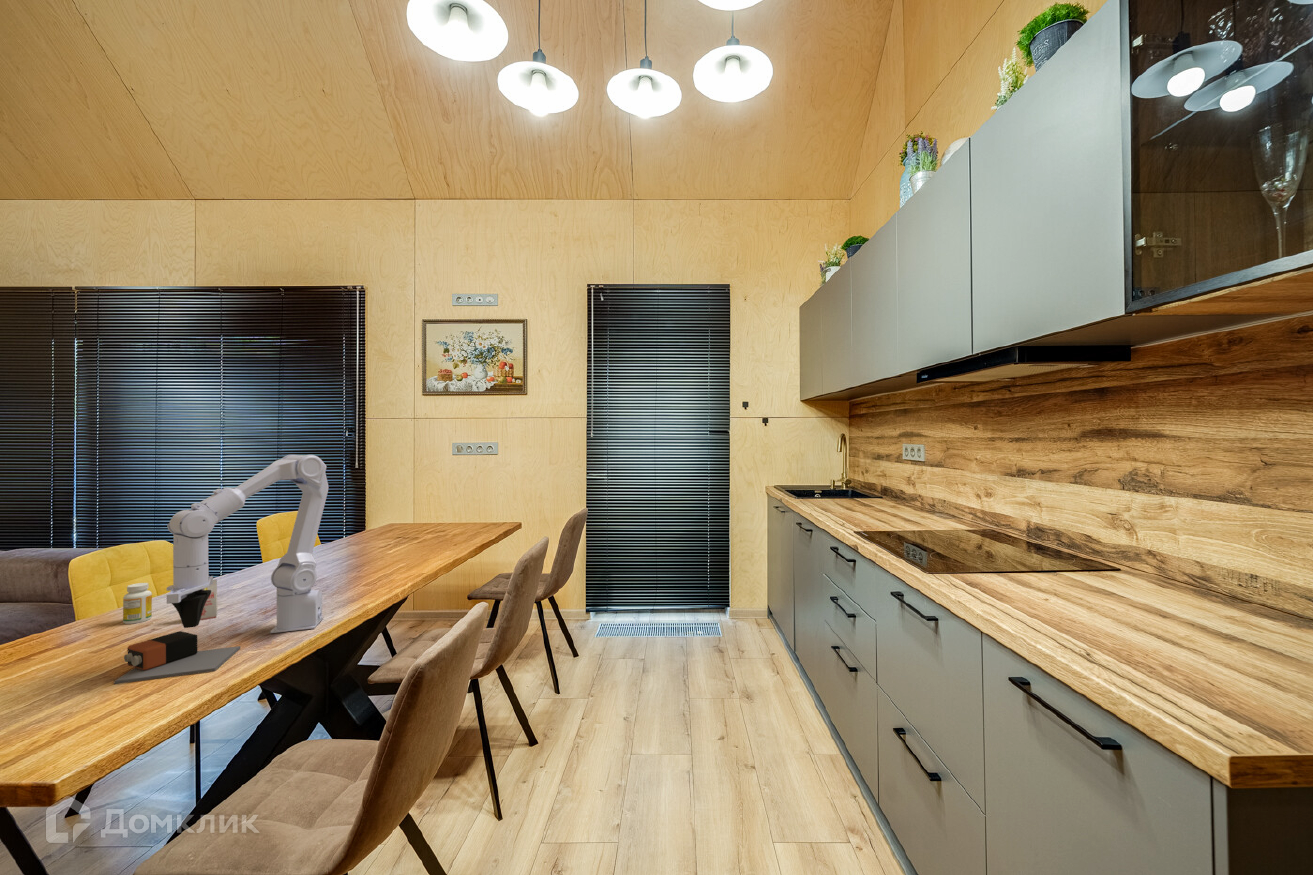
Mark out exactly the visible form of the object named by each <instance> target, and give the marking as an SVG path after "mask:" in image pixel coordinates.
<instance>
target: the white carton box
mask: <svg viewBox="0 0 1313 875" xmlns="http://www.w3.org/2000/svg"><path fill="white" fill-rule="evenodd" d="M217 581H218V580H217V579H213V584H212V585H210V586H209V587H207V588H204V589H202V590H211V594H210V596H209V597H208V599H207V601H206V603H205V605H204V608H203V611H202V615H201V619H200V622H201V621H206V620H210V619H217V617H218V583H217Z"/></svg>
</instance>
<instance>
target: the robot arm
mask: <svg viewBox="0 0 1313 875" xmlns="http://www.w3.org/2000/svg"><path fill="white" fill-rule="evenodd" d="M326 471H327V465H326V464H325V463H324V461H323V460H322V458H320V457H319V456H317V455H314V454H307V455H304V454H303V455H301V454H288V455H285V456H283V457H282V458H280V459H277V460H275V461H274V462H272V463H271V464H269V465H268V466H267V467H265V468H264V469H262V470H261V471H258V473H255V475H253V476H251V477H249V479H247V480H245V481H244V482H242V483H241V484H239V485H238V486H236V487H234V488H233V487H232V488H231V487H224V488H217V489H215V490H213V491H212V493H213V494H212V495H210V496H208V497H207V498H205V499H203V500H202V501H200V502H194V503H192V504H191V505H190V507H191V508H190V509H185V510H180V511H178V512H176V513H175V514H174V515H173V516H172V517H171V519H170V520H169V523H167V525H166V526H167V529H168V532H170V533H171V534H172V535H173V546H172V547H173V549H172V556H173V557H172V559H173V560H172V565H173V566H172V567H173V568H172V572H173V575H172V578H173V581H172V582H173V583H172V585H168V586H167V587H166V591H167V592H168V591H169V593H168V594H166V604H167V605H168V604H171V605H172V606H173V607H174V608H175V610H176V611H177V613H178V616H179V618H180V621H181V624H182V626H183V628H184V629H189V628H190V629H191V628H196V627H198V626H199V625H200V622H201V621H200V619H201V615H202V611H203V608H204V605H205V603H206V601H207V599H208V597H209V596H210V594H211V590H202V589H204V588H207V587H209V586H210V585H212V584H213V580H214V575H211V576H210V575H209V573H210V572H209V571H210V570H209V568H210V567H209V534H210V533H211V532H212V531H213V529H214V527H215V525H216V524H218V523H220V522H221V521H223V520H224V519H226V518H228V517H229V516H232V515H233V514H234V513H235V512H237V511H239V510H240V509H242V508H244V506H245V504H246V503H245V502H246V501H247V500H246V499H248V498H250V497H252V496H253V495H255V494H257V493H259V492H261V491H262V490H264V489H266V488H268V487H269V486H271V485H273V484H275V483H276V482H279V481H286V480H289V481H290V482H292V483H294V484H295V485H296V486H297V487H298V489H299V490H301V492H302V494H301V499H300V502H299V506H298V510H297V514H296V518H295V521H294V524H293V529H292V532H291V536H290V539H289V540H290V541H289V544H288V548H287V552H286V553H285V554H284V555H282V557H280V559H279V562H278V564H277V566H276V567H275V569H273V571H272V573H271V576H270V581H271V585H272V586H274V587H275V588H276V625H275V626H274V627H273V628H272V629H271V630H270V631H269V633H270V634H275V633H276V634H277V633H285V632H294V631H301V630H310V629H311V630H313V629H315V628H316V627H317V626H318V625H319V624H320V622H321V621H322V620H323V619H324V617H323V591H322V590H321V589H312V588H314V586H315V584H316V583H317V579H318V577H317V571H316V568H317V561H316V560H315V557H314V556H313V552H314V548H315V544H316V541H317V537H318V536H317V535H318V533H319V528H320V524H321V520H322V517H323V514H324V513H323V512H324V509H325V504H326V500H327V498H328V497H327V496H328V492H329V482H328V478H327V475H326V474H327V473H326Z"/></svg>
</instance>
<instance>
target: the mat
mask: <svg viewBox="0 0 1313 875" xmlns="http://www.w3.org/2000/svg"><path fill="white" fill-rule="evenodd" d="M240 650H241V645H237V646H228V647H222V648H221V647H220V648H213V649H204V650H203V649H202V650H197V653H196V654H194V655H191V656H188V657H185V658H182V659H179V660H176V661H173V662H170V663H167V664H164V665H161V666H158V667H155V668H152V669H148V670H142V669H138V668H135V667H132V669H131V670H129V671H127V672H126V673H125V674H123V675H121V676H120V677H117V679H115V680H114V682H113V683H114V685H118V684H119V685H120V684H126V683H127V684H128V683H133V682H141V681H150V680H157V679H164V678H165V679H166V678H172V677H179V676H181V677H182V676H187V675H194V674H202V673H211V672H216V670H218V669H219V668H220V667H221V666H222V665H224V664H225V663H226V662H227V661H228V660H229V659H230V658H232V657H233V656H234V655H235V654H236V653H238V651H240Z"/></svg>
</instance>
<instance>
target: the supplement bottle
mask: <svg viewBox="0 0 1313 875" xmlns="http://www.w3.org/2000/svg"><path fill="white" fill-rule="evenodd" d="M149 584H150V583H149V582H138V583H133V584H129V585H127V587H126V591H127V593H126V594H124V596H123V598H122V609H123V610H122V617H123V618H122V623H123V624H125V625H134V624H141V623H143V622H146V621H149V620H151V618H152V617H153V616H152V615H153V614H152V610H153V608H152V607H153V600H152V599H153V592H152V591H151V590H148V589H149V588H150V586H149Z"/></svg>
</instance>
